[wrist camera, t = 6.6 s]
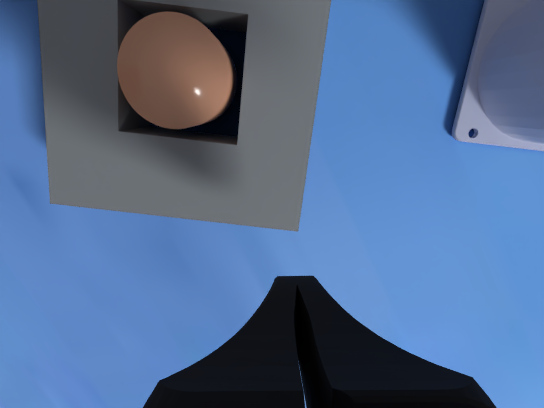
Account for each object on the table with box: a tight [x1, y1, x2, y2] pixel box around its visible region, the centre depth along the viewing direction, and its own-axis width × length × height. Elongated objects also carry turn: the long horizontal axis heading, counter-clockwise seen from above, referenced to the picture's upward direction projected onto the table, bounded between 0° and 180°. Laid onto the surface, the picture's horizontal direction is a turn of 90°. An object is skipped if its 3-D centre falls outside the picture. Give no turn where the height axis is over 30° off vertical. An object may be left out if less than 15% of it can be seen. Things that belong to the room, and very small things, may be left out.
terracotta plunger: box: [117, 11, 237, 129], centre depth 16 cm, size 4×4×4 cm
